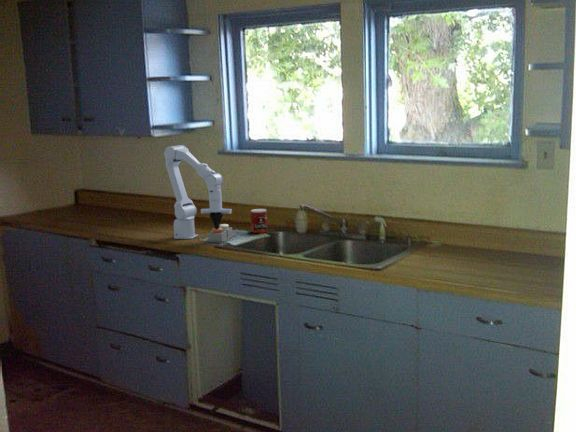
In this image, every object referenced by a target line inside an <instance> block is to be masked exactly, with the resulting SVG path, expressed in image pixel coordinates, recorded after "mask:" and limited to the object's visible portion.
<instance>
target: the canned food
mask: <svg viewBox="0 0 576 432" xmlns="http://www.w3.org/2000/svg"><path fill="white" fill-rule="evenodd" d="M267 212H268V211H267V209H266V208H255V209H251V210H250V218H251V219H250V221H251V223H250V224H251V232H253V233H252V234H254V233H262V234H265V233H264V232H266V233H267V232H268V217H267V216H268V213H267Z"/></svg>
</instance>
